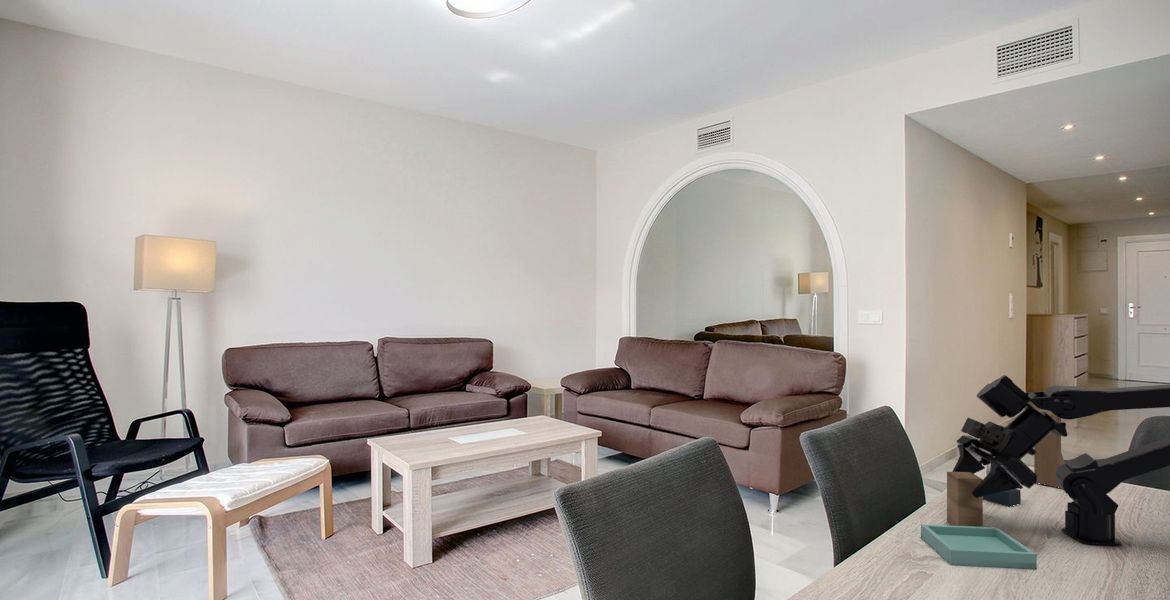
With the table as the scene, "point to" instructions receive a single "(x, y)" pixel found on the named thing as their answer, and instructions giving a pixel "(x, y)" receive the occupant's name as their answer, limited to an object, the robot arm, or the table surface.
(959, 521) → the tall brown wood pillar
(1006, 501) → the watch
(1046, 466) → the wooden block
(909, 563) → the table surface
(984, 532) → the tray
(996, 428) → the robot arm
